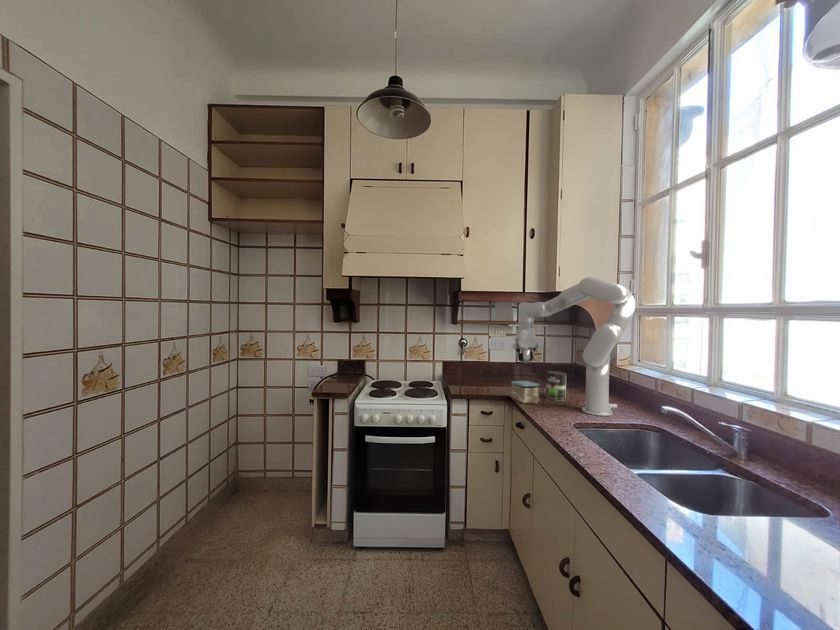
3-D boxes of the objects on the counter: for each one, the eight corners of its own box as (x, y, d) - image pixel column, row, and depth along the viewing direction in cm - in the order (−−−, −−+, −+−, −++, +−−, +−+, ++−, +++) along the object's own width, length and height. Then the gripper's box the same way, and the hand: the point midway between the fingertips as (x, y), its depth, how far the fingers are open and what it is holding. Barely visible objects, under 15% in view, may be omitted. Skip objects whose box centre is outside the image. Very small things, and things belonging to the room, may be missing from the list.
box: (526, 397, 187) (526, 383, 187) (538, 403, 175) (539, 387, 175) (511, 398, 185) (511, 383, 185) (523, 404, 173) (523, 388, 173)
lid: (526, 382, 187) (526, 380, 187) (539, 385, 175) (539, 383, 175) (511, 383, 185) (511, 381, 185) (523, 386, 173) (523, 384, 173)
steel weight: (527, 361, 183) (527, 348, 183) (532, 362, 178) (532, 349, 178) (518, 361, 182) (518, 348, 182) (523, 362, 177) (523, 349, 177)
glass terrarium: (562, 401, 179) (562, 374, 179) (542, 398, 186) (543, 372, 186) (569, 398, 187) (569, 372, 187) (550, 395, 194) (550, 370, 194)
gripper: (536, 326, 185) (535, 359, 185) (507, 325, 181) (507, 360, 181) (544, 326, 178) (543, 361, 178) (514, 326, 174) (514, 362, 174)
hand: (525, 360), depth 180 cm, fingers closed on steel weight, 5 cm apart
